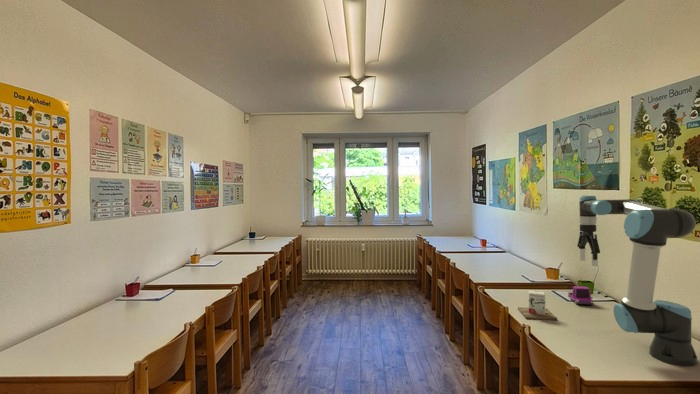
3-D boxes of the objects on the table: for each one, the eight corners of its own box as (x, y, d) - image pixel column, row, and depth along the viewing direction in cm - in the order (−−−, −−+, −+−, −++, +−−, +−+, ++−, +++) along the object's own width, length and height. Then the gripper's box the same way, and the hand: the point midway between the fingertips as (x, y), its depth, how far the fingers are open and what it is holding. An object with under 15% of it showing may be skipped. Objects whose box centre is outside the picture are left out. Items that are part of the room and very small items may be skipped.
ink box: (528, 313, 204) (528, 292, 203) (528, 310, 208) (527, 290, 208) (545, 315, 200) (545, 294, 200) (544, 312, 205) (544, 291, 204)
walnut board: (557, 320, 195) (557, 318, 195) (526, 319, 198) (526, 316, 198) (546, 310, 211) (546, 308, 211) (517, 309, 214) (517, 307, 214)
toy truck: (575, 305, 218) (574, 289, 218) (566, 298, 233) (566, 282, 233) (594, 306, 216) (594, 290, 215) (585, 298, 231) (584, 283, 230)
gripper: (607, 226, 179) (608, 268, 179) (584, 221, 203) (585, 258, 204) (591, 226, 180) (591, 268, 181) (570, 221, 205) (570, 258, 205)
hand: (588, 263), depth 192 cm, fingers open, 13 cm apart
